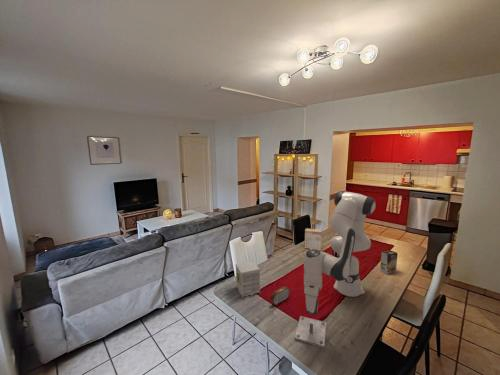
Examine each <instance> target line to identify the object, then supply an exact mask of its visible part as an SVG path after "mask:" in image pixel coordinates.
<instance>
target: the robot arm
mask: <svg viewBox="0 0 500 375" xmlns="http://www.w3.org/2000/svg"><path fill="white" fill-rule="evenodd" d="M333 203H334V205H335V208H334V210H333V212H332V214H331V217H330V222H329V224H330V227H331V229H333V231H334V232H335V233H336V234H337V235H336V236H332V237H331V240H330V247H331V249H332V250H333V251H334V252H336V253H337V254H338V255H339V256H338V257H336V256H334V255H332V254H329V253H327V252H325V251H319V250H315V249H312V250H307V251H306V252H305V253H304V260H303V270H304V273H303V287H304V288H303V293H304V294H305V308H306V311H307V310H308V311H310V312H311V313H314V311H315V306H316V300H317V299H318V297H319V294H320V291H321V289H322V288H323V274H325V275H327V276H330V277H331V278H332V279H333V280H335V282H334V285H333V288H334V289H335V290H336V291H338V292H339V293H340V294H341V295H344V296H347V297H350V298H351V297H352V298H353V297H359V296H360V295H364V294H365V291H364V289H363V287H362V280H361V279H360V272H359V269H360V261H359V259H358V258H357V257H356V256H355V255H353V253H354V252H355V253H356V252H362V251H363V252H364V251H366V250H369V249H370V248H371V246H372V241H371V238H370V237H369V236H368V235H367V234H366V233H365V229H364V228H365V221H366V217H367V216H370V215H371V214H373V212H374V211H375V210H376V200H375V199H374V198H373V197H371V196H366V195H364V194H361V193H359V192H358V193H357V192H356V193H355V192H351V191H345V190H339V191H338V192H336V193H335V196H334V198H333Z"/></svg>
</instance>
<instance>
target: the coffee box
mask: <svg viewBox="0 0 500 375" xmlns="http://www.w3.org/2000/svg"><path fill="white" fill-rule="evenodd" d="M380 255H381V256H380V257H381V258H380V269H379V272H381V273H383V274H385V275H391V274H396V273H397V263H398V252H396V251H394V250H391V249H388V250H383V251H381V254H380Z"/></svg>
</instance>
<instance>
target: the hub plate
mask: <svg viewBox="0 0 500 375" xmlns="http://www.w3.org/2000/svg"><path fill="white" fill-rule="evenodd" d="M326 333H327V322H326V321H323V320H318V319H315V318H309V317H307V316H302V315H300V316H299V320H298V324H297V327H296V332H295V336H294V340H295V341H298V342H301V343H306V344H309V345H312V346H315V347H319V348H321V349H325V345H326V344H325V342H326Z"/></svg>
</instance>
